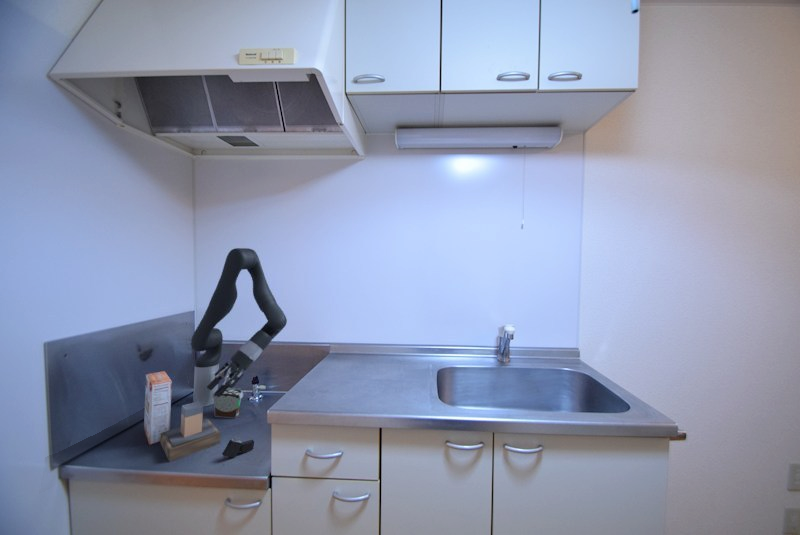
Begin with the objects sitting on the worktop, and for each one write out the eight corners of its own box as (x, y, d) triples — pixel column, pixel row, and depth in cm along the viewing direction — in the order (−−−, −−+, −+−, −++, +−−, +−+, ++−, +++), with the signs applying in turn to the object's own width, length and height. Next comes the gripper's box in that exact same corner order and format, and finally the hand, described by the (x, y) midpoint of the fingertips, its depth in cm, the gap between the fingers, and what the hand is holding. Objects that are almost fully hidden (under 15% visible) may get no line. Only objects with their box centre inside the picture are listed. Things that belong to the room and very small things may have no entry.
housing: (180, 431, 100) (181, 405, 100) (197, 426, 104) (198, 401, 104) (184, 437, 97) (185, 410, 97) (201, 431, 101) (203, 405, 101)
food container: (248, 411, 124) (249, 388, 124) (239, 418, 118) (240, 394, 118) (221, 409, 125) (222, 386, 126) (211, 416, 119) (212, 391, 119)
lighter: (244, 457, 98) (254, 439, 100) (247, 459, 96) (257, 441, 99) (220, 452, 92) (232, 433, 95) (223, 455, 91) (234, 436, 93)
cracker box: (142, 430, 107) (145, 373, 108) (163, 424, 112) (165, 370, 112) (147, 446, 98) (150, 384, 98) (169, 439, 102) (172, 379, 103)
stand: (160, 443, 100) (160, 431, 100) (207, 428, 110) (207, 417, 110) (169, 461, 90) (170, 448, 90) (219, 443, 101) (220, 431, 101)
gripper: (233, 345, 117) (198, 381, 108) (247, 353, 107) (210, 393, 99) (246, 356, 121) (213, 391, 112) (261, 364, 111) (226, 403, 102)
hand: (212, 392), depth 105 cm, fingers open, 8 cm apart
